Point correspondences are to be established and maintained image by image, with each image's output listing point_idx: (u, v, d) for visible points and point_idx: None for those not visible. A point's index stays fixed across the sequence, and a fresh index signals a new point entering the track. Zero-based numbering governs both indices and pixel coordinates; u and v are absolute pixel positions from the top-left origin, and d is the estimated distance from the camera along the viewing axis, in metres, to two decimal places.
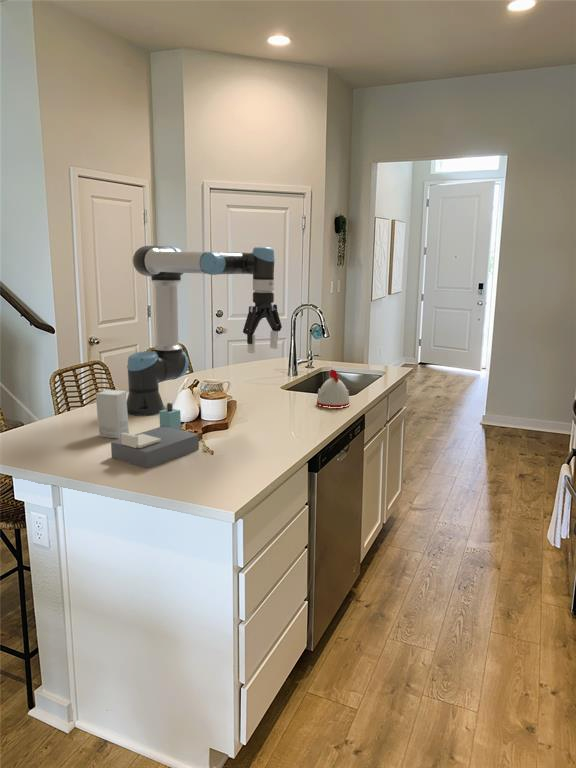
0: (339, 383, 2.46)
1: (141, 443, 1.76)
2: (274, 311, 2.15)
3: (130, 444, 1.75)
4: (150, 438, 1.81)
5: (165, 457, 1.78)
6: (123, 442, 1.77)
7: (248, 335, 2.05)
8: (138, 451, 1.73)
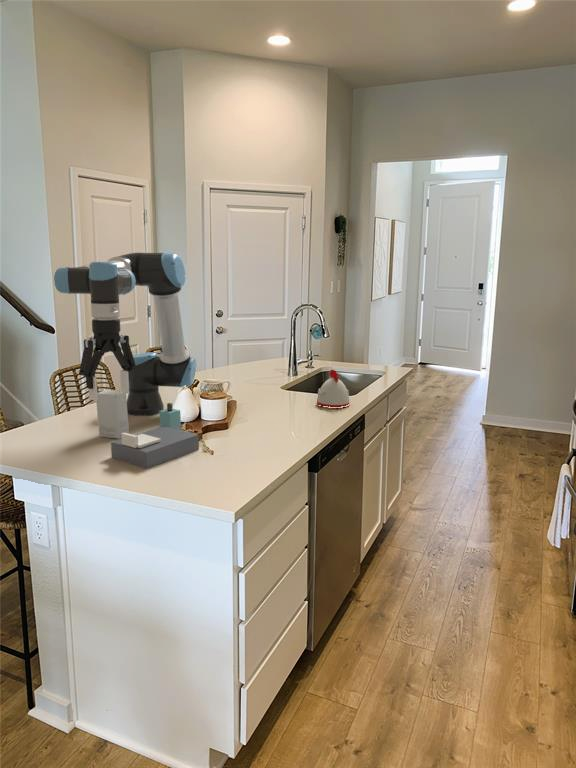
0: (339, 383, 2.46)
1: (141, 443, 1.76)
2: (124, 344, 1.68)
3: (130, 444, 1.75)
4: (150, 438, 1.81)
5: (165, 457, 1.78)
6: (123, 442, 1.77)
7: (87, 378, 1.60)
8: (138, 451, 1.73)
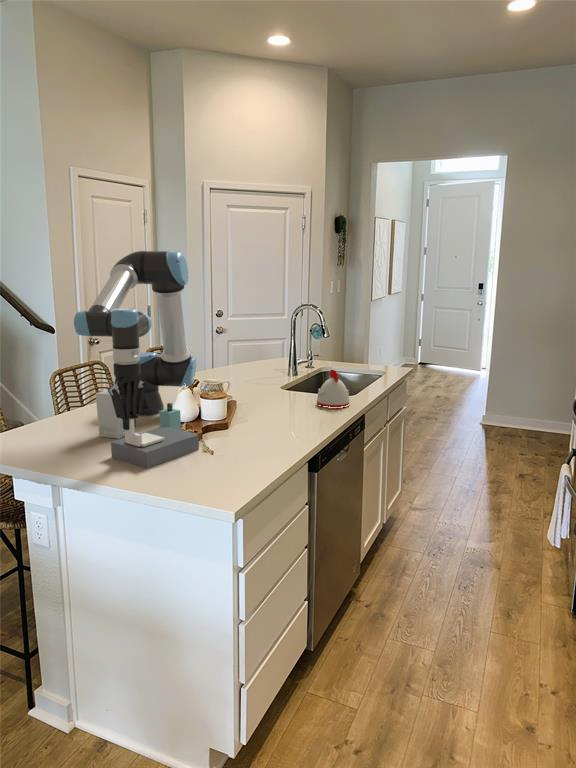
0: (339, 383, 2.46)
1: (145, 442, 1.77)
2: (140, 389, 1.76)
3: (134, 443, 1.76)
4: (154, 437, 1.82)
5: (165, 457, 1.78)
6: (127, 441, 1.78)
7: (123, 420, 1.73)
8: (138, 451, 1.73)
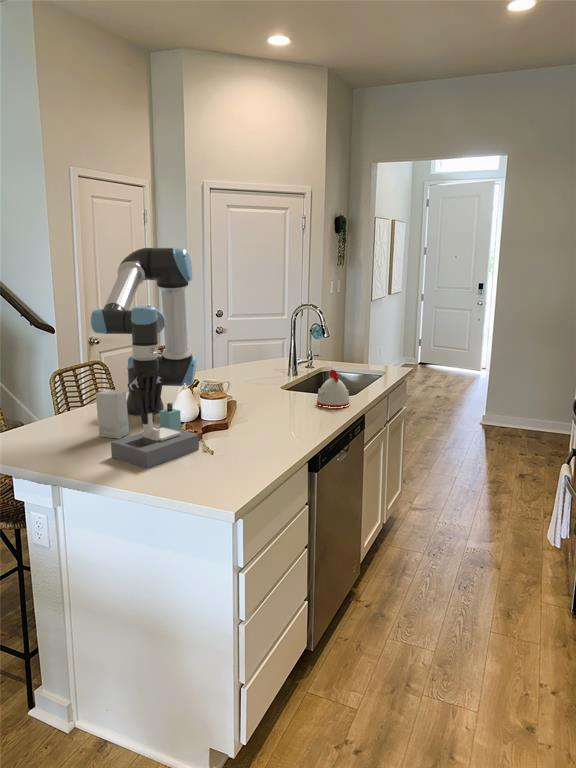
0: (339, 383, 2.46)
1: (162, 436, 1.83)
2: (158, 384, 1.81)
3: (152, 437, 1.82)
4: (170, 431, 1.88)
5: (165, 457, 1.78)
6: (145, 435, 1.84)
7: (142, 414, 1.79)
8: (138, 451, 1.73)
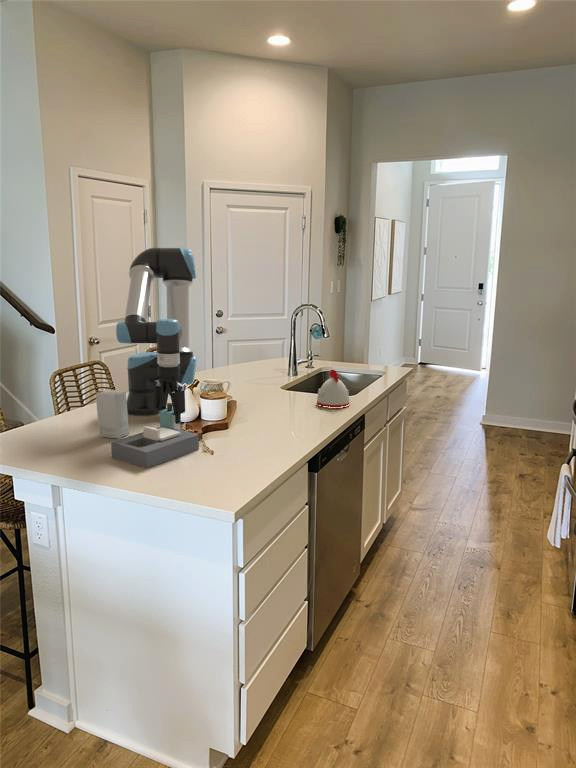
0: (339, 383, 2.46)
1: (162, 436, 1.83)
2: None
3: (152, 437, 1.82)
4: (170, 431, 1.88)
5: (165, 457, 1.78)
6: (145, 435, 1.84)
7: None
8: (138, 451, 1.73)
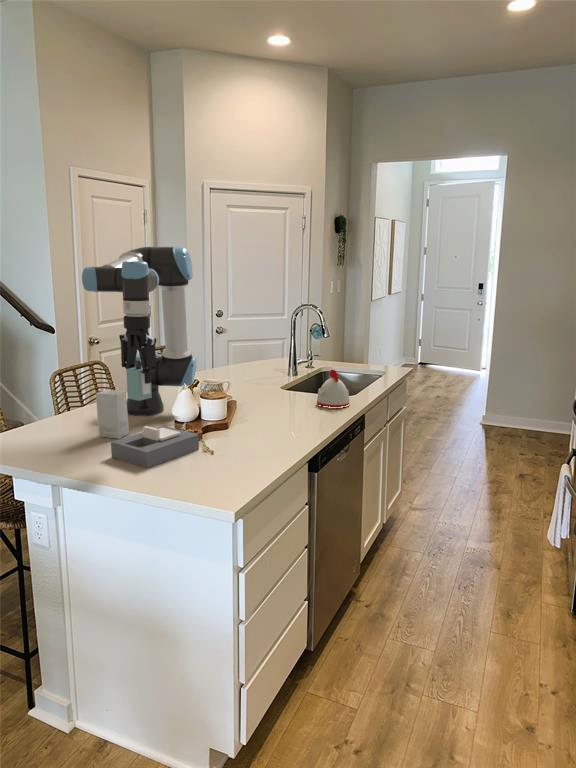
0: (339, 383, 2.46)
1: (162, 436, 1.83)
2: None
3: (152, 437, 1.82)
4: (170, 431, 1.88)
5: (165, 457, 1.78)
6: (145, 435, 1.84)
7: None
8: (138, 451, 1.73)
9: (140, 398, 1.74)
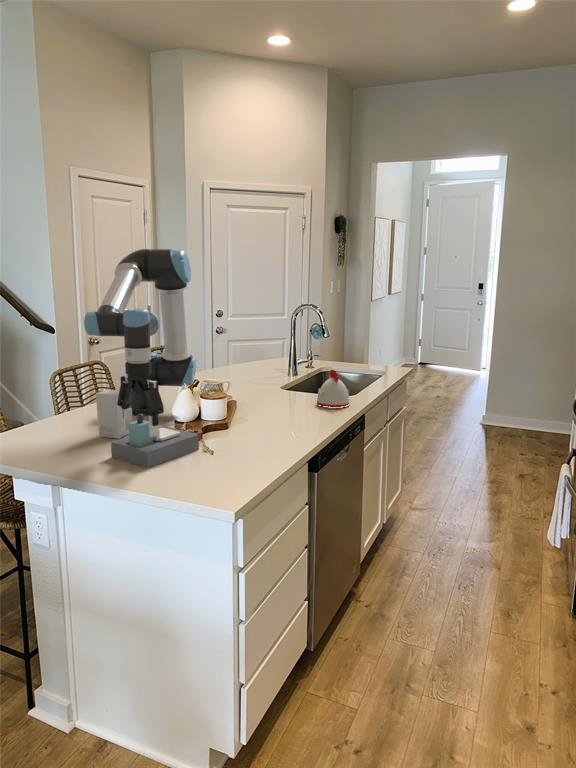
0: (339, 383, 2.46)
1: (162, 436, 1.83)
2: None
3: None
4: (170, 431, 1.88)
5: (165, 457, 1.78)
6: None
7: None
8: (138, 451, 1.73)
9: None
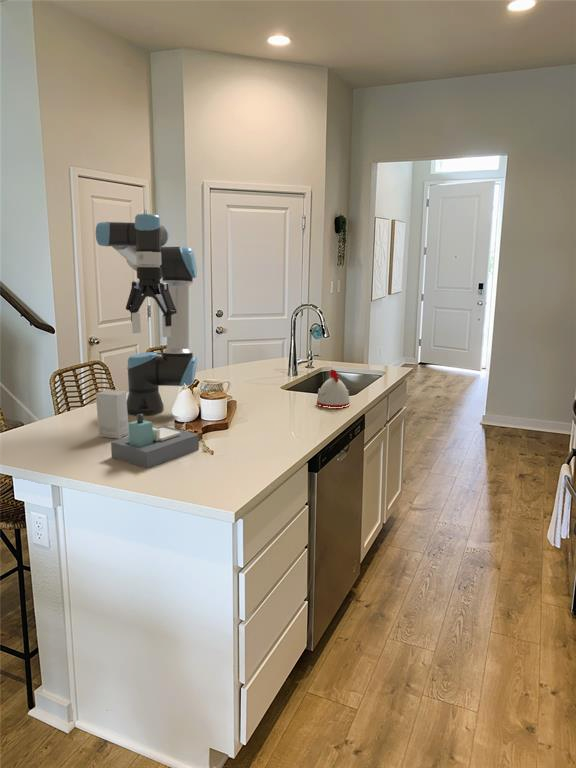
0: (339, 383, 2.46)
1: (162, 436, 1.83)
2: None
3: None
4: (170, 431, 1.88)
5: (165, 457, 1.78)
6: None
7: None
8: (138, 451, 1.73)
9: None
